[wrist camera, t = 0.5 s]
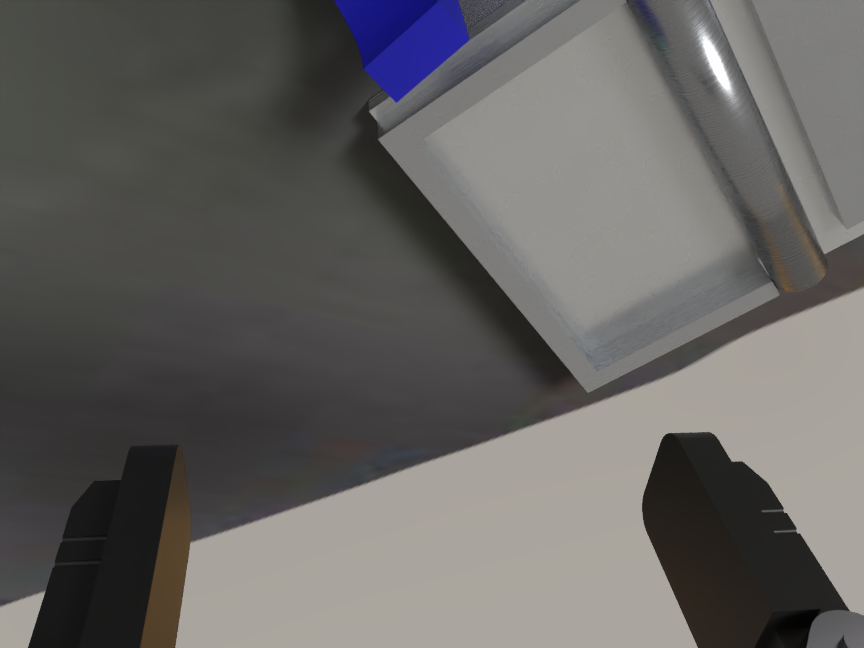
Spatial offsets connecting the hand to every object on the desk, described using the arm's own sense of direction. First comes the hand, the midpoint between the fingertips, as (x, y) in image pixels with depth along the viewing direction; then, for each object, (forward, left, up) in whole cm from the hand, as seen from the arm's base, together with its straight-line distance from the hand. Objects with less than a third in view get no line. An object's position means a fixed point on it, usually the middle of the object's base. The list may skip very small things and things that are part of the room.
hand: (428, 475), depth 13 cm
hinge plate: (-7, +11, -21) cm, 25 cm away
